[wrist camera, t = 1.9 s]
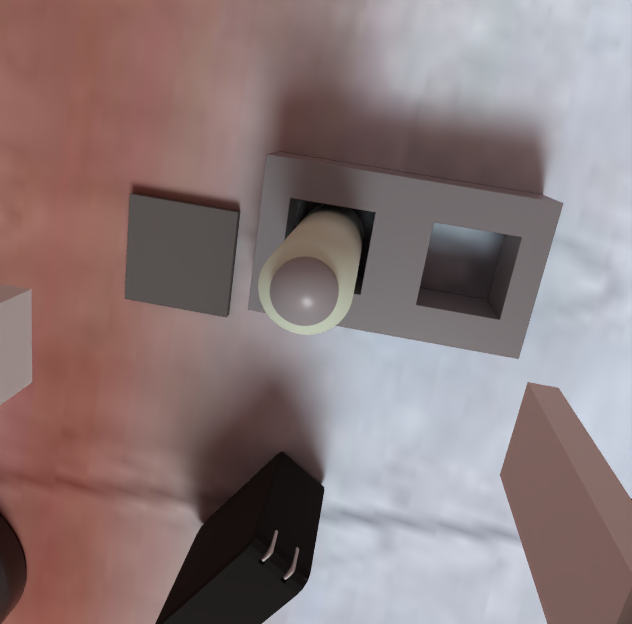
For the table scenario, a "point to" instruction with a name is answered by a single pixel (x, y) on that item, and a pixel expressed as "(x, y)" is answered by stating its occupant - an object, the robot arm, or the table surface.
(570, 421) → the robot arm
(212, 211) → the coaster
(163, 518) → the table surface
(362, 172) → the gray cinder block
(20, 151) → the table surface
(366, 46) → the table surface
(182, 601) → the electronic device
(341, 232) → the plug
